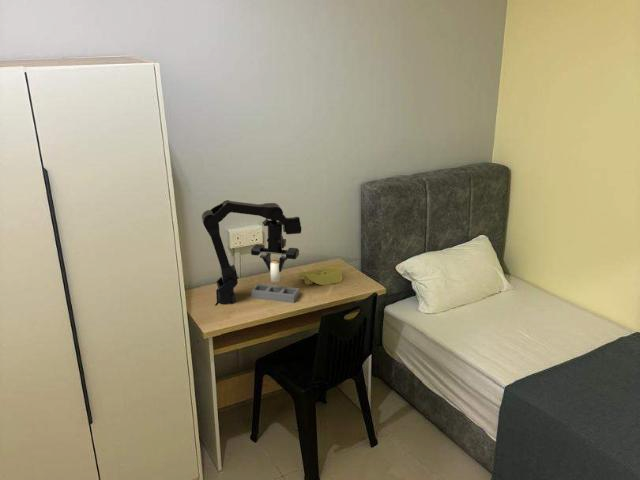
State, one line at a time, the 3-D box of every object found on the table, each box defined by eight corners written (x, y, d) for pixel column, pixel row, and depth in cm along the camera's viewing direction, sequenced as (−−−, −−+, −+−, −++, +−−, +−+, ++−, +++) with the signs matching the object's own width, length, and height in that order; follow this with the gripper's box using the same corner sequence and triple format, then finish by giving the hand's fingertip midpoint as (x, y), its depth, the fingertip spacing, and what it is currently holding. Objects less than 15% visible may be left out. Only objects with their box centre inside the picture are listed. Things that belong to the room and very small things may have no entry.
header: (251, 300, 241) (251, 291, 240) (257, 292, 248) (257, 283, 247) (293, 305, 237) (293, 296, 236) (298, 297, 245) (298, 288, 243)
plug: (269, 281, 239) (268, 262, 236) (272, 277, 242) (271, 259, 240) (278, 282, 238) (278, 263, 235) (281, 279, 242) (281, 260, 239)
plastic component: (326, 268, 269) (340, 264, 262) (330, 283, 269) (343, 281, 261) (292, 275, 257) (305, 272, 249) (295, 291, 257) (309, 289, 249)
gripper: (302, 230, 239) (302, 266, 244) (259, 226, 243) (259, 261, 248) (295, 239, 229) (295, 276, 234) (250, 235, 233) (251, 271, 238)
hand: (275, 271), depth 239 cm, fingers closed on plug, 4 cm apart
